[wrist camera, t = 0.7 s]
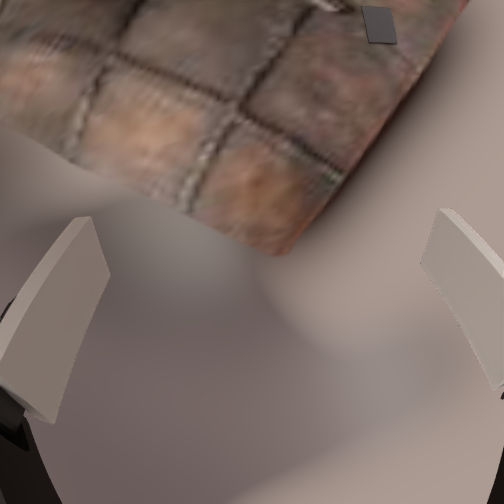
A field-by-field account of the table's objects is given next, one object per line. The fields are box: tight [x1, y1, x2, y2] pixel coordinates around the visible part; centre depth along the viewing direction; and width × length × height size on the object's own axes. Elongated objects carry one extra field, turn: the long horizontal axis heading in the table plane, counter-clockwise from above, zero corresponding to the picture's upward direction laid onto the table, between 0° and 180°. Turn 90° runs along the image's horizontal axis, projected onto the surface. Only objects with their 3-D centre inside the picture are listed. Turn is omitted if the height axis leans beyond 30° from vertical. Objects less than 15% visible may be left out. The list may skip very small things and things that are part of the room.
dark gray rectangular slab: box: [361, 6, 397, 43], centre depth 24 cm, size 5×4×1 cm
